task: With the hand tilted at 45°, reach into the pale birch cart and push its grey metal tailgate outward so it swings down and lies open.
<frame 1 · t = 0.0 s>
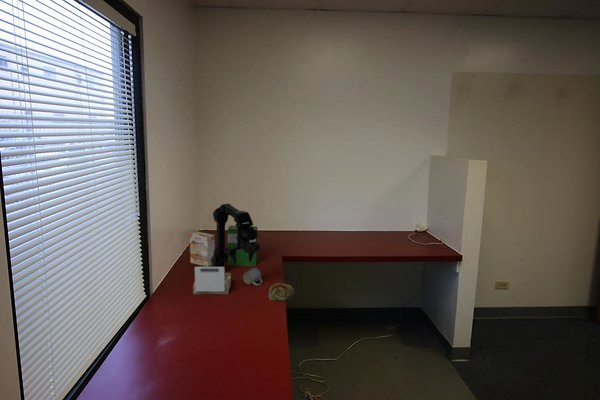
hand: (242, 263, 196), 15 cm above the table, tool pointing down, fingers open, 9 cm apart
pastry: (281, 297, 191), on the table
hardback book: (242, 263, 236), on the table
ceramic mug: (253, 283, 207), on the table
tailgate: (209, 279, 189), point 9 cm above the table, hinge at 0.0°
coffeecake box: (202, 263, 235), on the table
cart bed: (210, 295, 190), on the table
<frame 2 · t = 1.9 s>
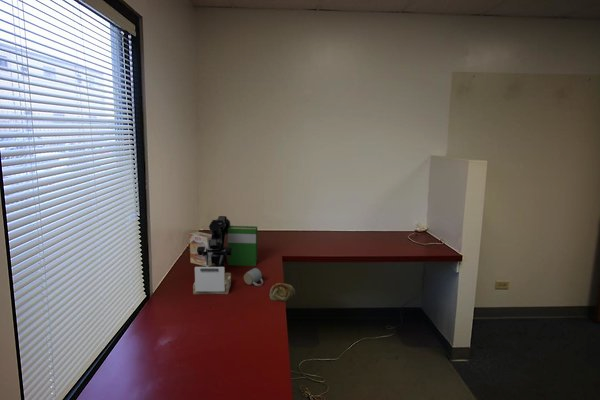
hand: (213, 265, 198), 13 cm above the table, tool tilted 45°, fingers open, 6 cm apart
hardback book: (242, 263, 236), on the table, touching arm
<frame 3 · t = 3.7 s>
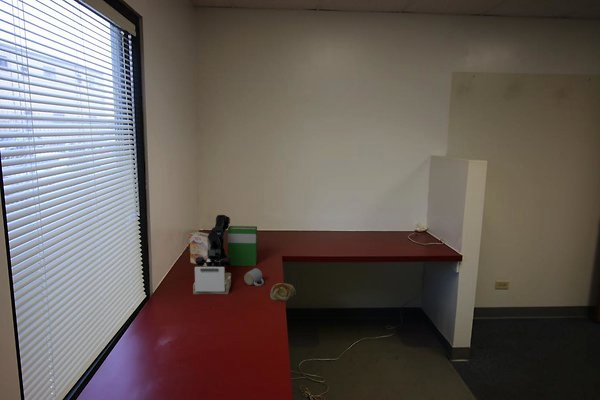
hand: (211, 276, 195), 8 cm above the table, tool tilted 45°, fingers closed
hardback book: (242, 263, 236), on the table
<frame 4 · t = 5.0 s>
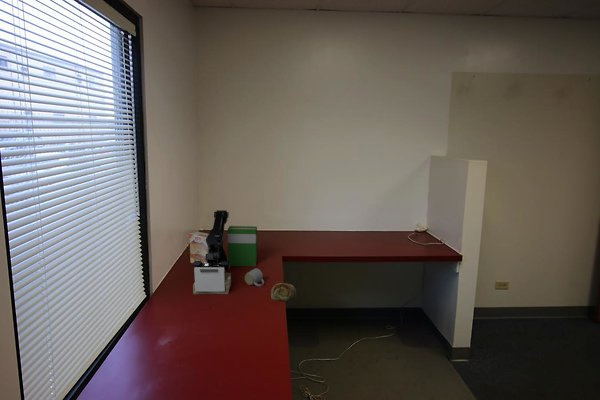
hand: (210, 280, 190), 8 cm above the table, tool tilted 45°, fingers closed, pressing on tailgate
tailgate: (209, 279, 188), point 9 cm above the table, hinge at 3.9°, touching gripper
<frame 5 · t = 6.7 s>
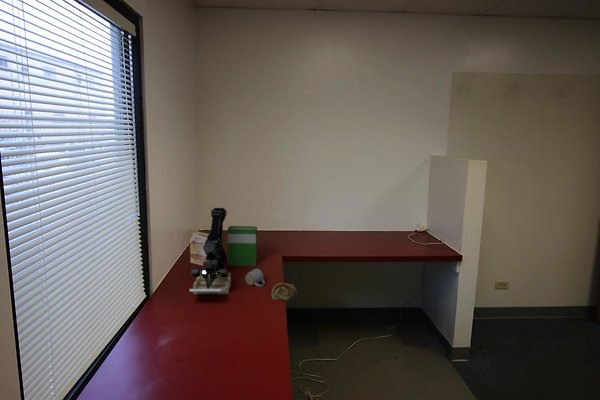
hand: (207, 288, 184), 6 cm above the table, tool tilted 45°, fingers closed
tailgate: (207, 291, 183), point 5 cm above the table, hinge at 63.8°
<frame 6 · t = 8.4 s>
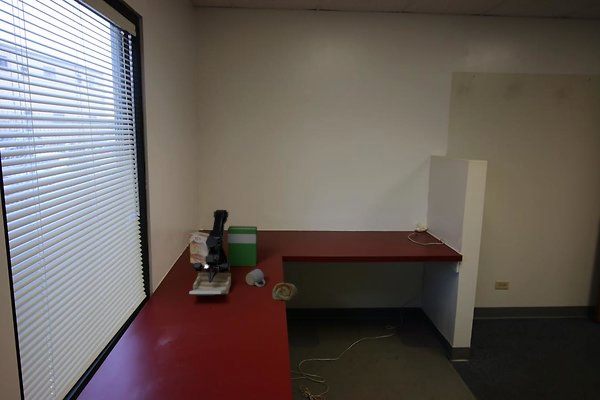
hand: (210, 282, 190), 7 cm above the table, tool tilted 45°, fingers closed
tailgate: (207, 292, 183), point 5 cm above the table, hinge at 68.8°
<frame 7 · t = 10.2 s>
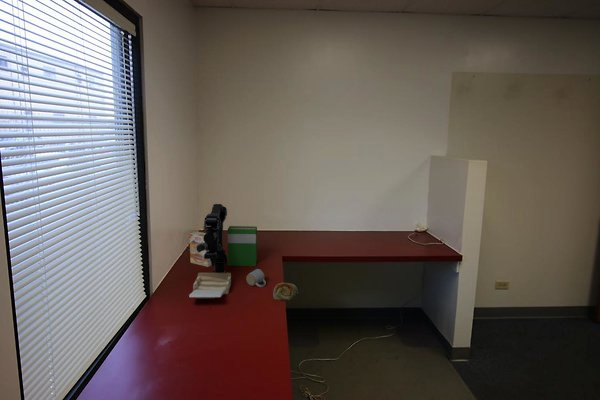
hand: (213, 265, 199), 12 cm above the table, tool pointing down, fingers closed
tailgate: (207, 293, 183), point 4 cm above the table, hinge at 75.5°
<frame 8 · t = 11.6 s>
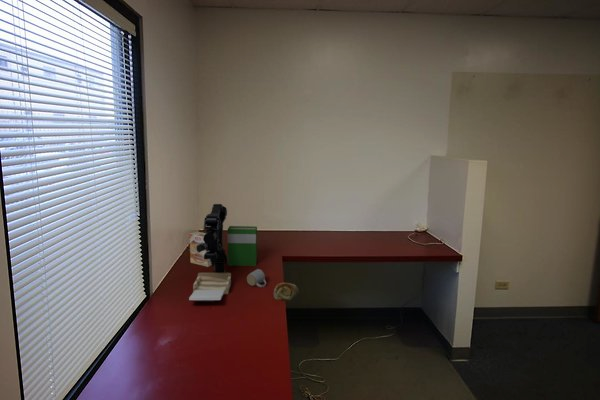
hand: (213, 265, 199), 12 cm above the table, tool pointing down, fingers closed
tailgate: (207, 295, 183), point 3 cm above the table, hinge at 81.8°
at the end: tailgate at +82° (first picture: +0°) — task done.
